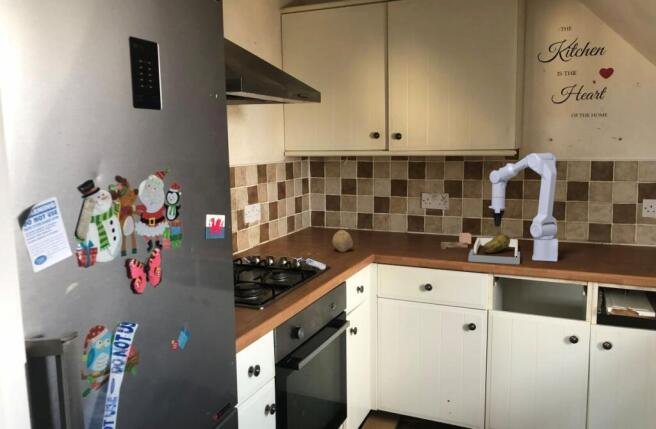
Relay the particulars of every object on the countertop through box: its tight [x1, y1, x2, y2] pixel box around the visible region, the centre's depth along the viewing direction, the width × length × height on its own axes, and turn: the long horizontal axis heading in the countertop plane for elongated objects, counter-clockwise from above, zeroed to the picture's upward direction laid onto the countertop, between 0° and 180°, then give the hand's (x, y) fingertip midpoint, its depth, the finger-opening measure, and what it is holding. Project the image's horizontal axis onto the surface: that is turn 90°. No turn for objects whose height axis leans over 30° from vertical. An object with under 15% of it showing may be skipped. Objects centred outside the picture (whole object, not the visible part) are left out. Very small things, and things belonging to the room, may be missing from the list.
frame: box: [468, 248, 521, 265], centre depth 231 cm, size 20×13×2 cm, turn 71°
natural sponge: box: [331, 229, 354, 253], centre depth 249 cm, size 9×9×10 cm
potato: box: [482, 233, 511, 254], centre depth 243 cm, size 8×13×8 cm, turn 94°
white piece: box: [473, 237, 519, 257], centre depth 248 cm, size 18×22×4 cm
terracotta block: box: [458, 232, 472, 245], centre depth 266 cm, size 4×4×4 cm
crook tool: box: [440, 241, 469, 250], centre depth 255 cm, size 12×6×2 cm, turn 83°
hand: (497, 226), depth 253 cm, fingers closed
